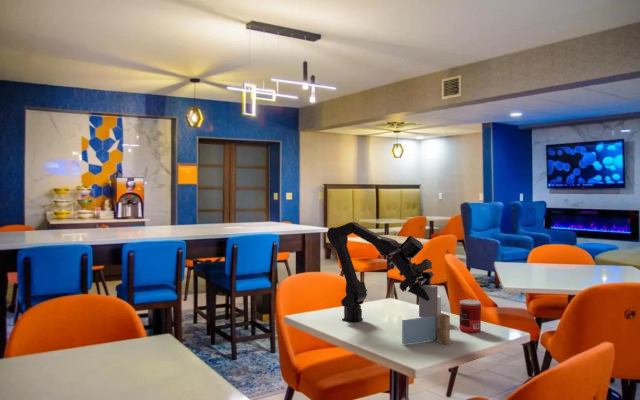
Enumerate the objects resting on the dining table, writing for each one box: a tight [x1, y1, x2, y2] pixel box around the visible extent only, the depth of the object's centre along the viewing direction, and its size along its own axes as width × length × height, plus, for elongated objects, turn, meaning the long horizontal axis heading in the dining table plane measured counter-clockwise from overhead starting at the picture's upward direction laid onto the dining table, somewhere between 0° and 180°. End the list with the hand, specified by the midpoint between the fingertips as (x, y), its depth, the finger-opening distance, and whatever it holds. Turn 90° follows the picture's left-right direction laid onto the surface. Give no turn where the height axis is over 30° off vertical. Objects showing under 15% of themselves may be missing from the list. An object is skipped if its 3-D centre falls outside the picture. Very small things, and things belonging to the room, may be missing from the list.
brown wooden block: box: [436, 312, 451, 346], centre depth 171 cm, size 5×1×10 cm, turn 25°
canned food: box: [459, 299, 482, 334], centre depth 187 cm, size 8×8×11 cm
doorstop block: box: [418, 285, 439, 318], centre depth 183 cm, size 5×5×11 cm
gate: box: [401, 316, 437, 345], centre depth 172 cm, size 15×1×8 cm, turn 115°
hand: (431, 298), depth 182 cm, fingers closed on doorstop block, 5 cm apart
